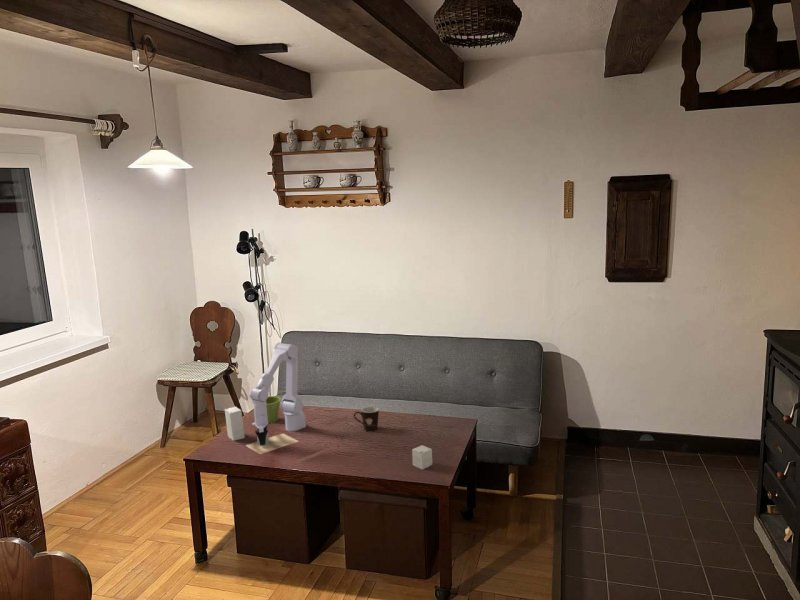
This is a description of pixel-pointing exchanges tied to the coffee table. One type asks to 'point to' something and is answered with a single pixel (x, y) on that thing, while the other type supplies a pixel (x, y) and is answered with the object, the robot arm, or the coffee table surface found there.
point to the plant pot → (272, 408)
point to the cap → (265, 442)
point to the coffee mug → (369, 418)
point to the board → (272, 443)
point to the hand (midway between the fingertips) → (262, 441)
